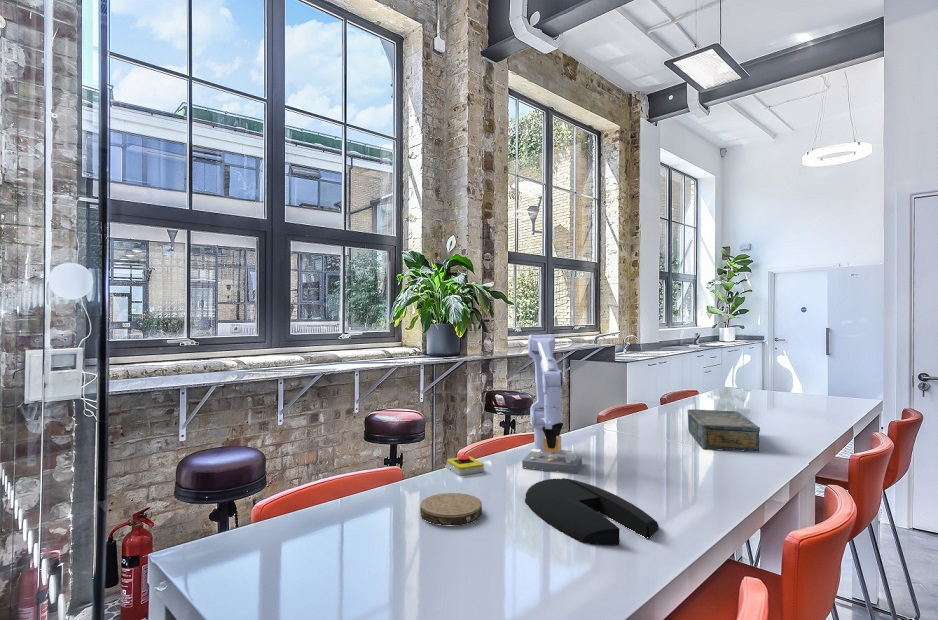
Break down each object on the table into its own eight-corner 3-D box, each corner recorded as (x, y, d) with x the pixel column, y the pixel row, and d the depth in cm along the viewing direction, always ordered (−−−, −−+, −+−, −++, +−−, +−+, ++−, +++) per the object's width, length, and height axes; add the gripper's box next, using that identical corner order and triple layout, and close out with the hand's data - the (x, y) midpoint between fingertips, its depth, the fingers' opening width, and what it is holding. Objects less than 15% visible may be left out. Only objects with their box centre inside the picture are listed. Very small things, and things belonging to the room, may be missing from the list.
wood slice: (408, 513, 135) (408, 502, 135) (455, 499, 146) (455, 488, 146) (445, 533, 123) (445, 520, 123) (494, 516, 134) (494, 504, 134)
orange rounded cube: (546, 447, 181) (546, 435, 181) (561, 449, 179) (561, 436, 179) (543, 451, 176) (543, 438, 176) (558, 452, 174) (558, 439, 174)
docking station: (578, 483, 159) (578, 467, 159) (677, 535, 121) (676, 514, 121) (505, 494, 150) (505, 477, 150) (587, 554, 112) (587, 531, 112)
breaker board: (531, 458, 185) (530, 446, 185) (582, 463, 179) (581, 450, 179) (522, 468, 174) (522, 454, 174) (576, 473, 168) (576, 459, 168)
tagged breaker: (549, 463, 179) (549, 454, 179) (558, 464, 178) (558, 455, 178) (547, 465, 177) (547, 456, 177) (556, 466, 176) (556, 457, 176)
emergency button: (468, 451, 181) (488, 462, 168) (468, 463, 181) (488, 475, 168) (443, 454, 177) (462, 465, 164) (443, 467, 177) (462, 479, 164)
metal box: (739, 433, 223) (738, 410, 223) (762, 453, 192) (761, 426, 192) (686, 431, 228) (685, 408, 228) (700, 450, 197) (700, 423, 197)
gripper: (545, 402, 186) (546, 440, 186) (536, 409, 172) (536, 450, 172) (565, 403, 183) (565, 441, 183) (557, 410, 170) (557, 452, 170)
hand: (553, 446), depth 177 cm, fingers closed on orange rounded cube, 5 cm apart
